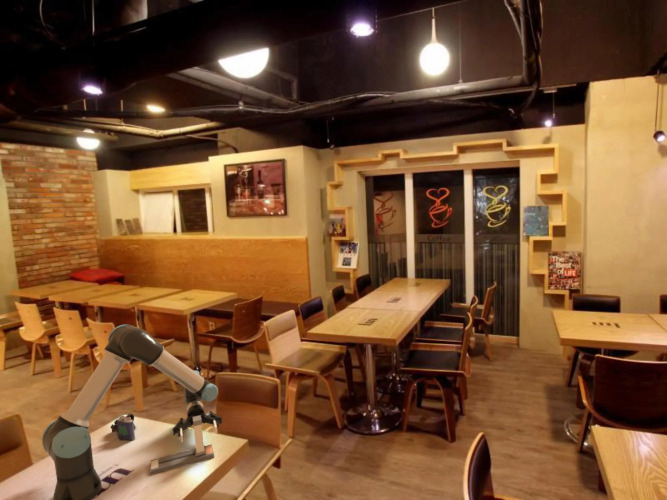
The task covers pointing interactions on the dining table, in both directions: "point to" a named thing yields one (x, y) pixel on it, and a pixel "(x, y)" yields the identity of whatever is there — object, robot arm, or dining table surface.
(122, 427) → the flask
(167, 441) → the dining table surface
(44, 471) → the dining table surface
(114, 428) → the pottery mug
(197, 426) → the lever
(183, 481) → the dining table surface
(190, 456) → the switch board
